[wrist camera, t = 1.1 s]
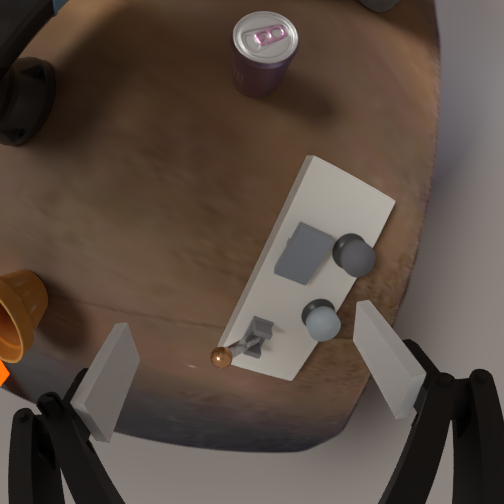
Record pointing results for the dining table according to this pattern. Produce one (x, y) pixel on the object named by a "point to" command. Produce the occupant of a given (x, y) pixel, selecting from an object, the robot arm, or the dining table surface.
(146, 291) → the dining table surface
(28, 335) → the flower pot
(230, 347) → the lever
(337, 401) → the dining table surface
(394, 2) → the vase
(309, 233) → the block
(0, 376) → the orange juice
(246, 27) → the beverage can
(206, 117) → the dining table surface
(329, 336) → the button
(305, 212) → the console
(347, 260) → the button
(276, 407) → the dining table surface
